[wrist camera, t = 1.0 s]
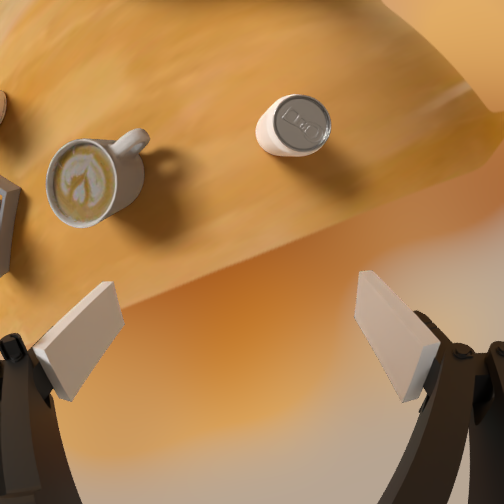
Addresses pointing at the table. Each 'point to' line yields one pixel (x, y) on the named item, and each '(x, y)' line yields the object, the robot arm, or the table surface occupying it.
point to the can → (294, 126)
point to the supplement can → (2, 105)
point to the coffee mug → (95, 178)
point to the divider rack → (7, 220)
